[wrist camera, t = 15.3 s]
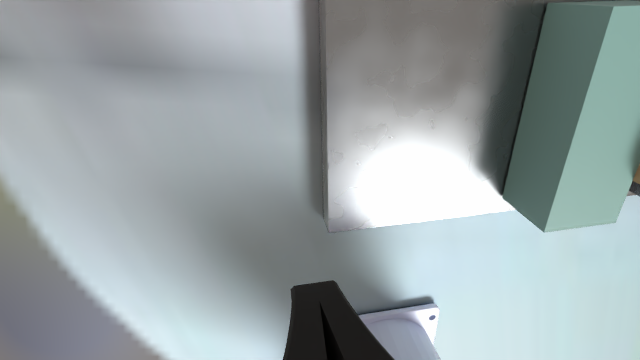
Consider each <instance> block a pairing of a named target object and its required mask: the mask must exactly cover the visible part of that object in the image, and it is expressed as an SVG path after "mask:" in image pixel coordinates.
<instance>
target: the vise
mask: <svg viewBox="0 0 640 360" xmlns="http://www.w3.org/2000/svg"><path fill="white" fill-rule="evenodd" d="M588 1H616V0H319V25H320V72H321V119H322V166H323V213H324V221H325V224H326V227H327V229H328V232H329V233H333V232H341V231H349V230H357V229H365V228H373V227H381V226H389V225H397V224H405V223H413V222H421V221H429V220H438V219H446V218H454V217H462V216H470V215H478V214H486V213H494V212H502V211H510V210H516V209H515V208H514V207H512V206H511V205H510V204H509V203H508V202H506V201H505V200H504V199H503V198H502V196H503V192H504V188H505V183H506V179H507V175H508V171H509V166H510V162H511V158H512V153H513V149H514V145H515V141H516V136H517V132H518V128H519V123H520V119H521V115H522V111H523V106H524V102H525V98H526V94H527V89H528V85H529V81H530V76H531V72H532V68H533V64H534V59H535V55H536V51H537V46H538V42H539V38H540V34H541V29H542V25H543V21H544V16H545V12H546V8H547V4H548V3H560V2H588ZM635 1H640V0H635ZM631 195H638V196H640V184H638V183H636V182H634V181H632V184H631V186H630V188H629V191H628V193H627V196H631Z"/></svg>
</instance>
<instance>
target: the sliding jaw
mask: <svg viewBox="0 0 640 360" xmlns="http://www.w3.org/2000/svg"><path fill="white" fill-rule="evenodd" d="M639 164H640V1H635V0H616V1H588V2H560V3H548V4H547V8H546V12H545V16H544V21H543V25H542V29H541V34H540V38H539V42H538V46H537V51H536V55H535V59H534V64H533V68H532V72H531V76H530V81H529V85H528V89H527V94H526V98H525V102H524V106H523V111H522V115H521V119H520V123H519V128H518V132H517V136H516V141H515V145H514V149H513V153H512V158H511V162H510V166H509V171H508V175H507V179H506V183H505V188H504V192H503V196H502V198H503V199H504V200H505V201H506V202H508V203H509V204H510V205H511V206H512V207H514V208H515V209H516V210H517V211H518V212H520V213H521V214H522V215H523V216H525V217H526V218H527V219H528V220H529V221H531V222H532V223H533V224H534V225H536V226H537V227H538V228H539V229H540V230H542V231H543V232H551V231H559V230H566V229H574V228H581V227H588V226H596V225H603V224H610V223H616V220H617V218H618V215H619V213H620V210H621V208H622V205H623V203H624V201H625V198H626V196H627V193H628V191H629V188H630V186H631V184H632V181H633V179H634V176H635V174H636V171H637V169H638V166H639Z"/></svg>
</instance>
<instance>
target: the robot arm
mask: <svg viewBox="0 0 640 360" xmlns="http://www.w3.org/2000/svg"><path fill="white" fill-rule="evenodd" d="M291 298H292V308H291V318H290V326H289V332H288V338H287V343H286V348H285V353H284V357H283V360H441V359H440V357H439V355H438V353H437V351H436V350H435V348H434V340H435V334H436V329H437V323H438V317H439V308H438V306H437V305H436V304H426V305H420V306H414V307H407V308H401V309H395V310H388V311H382V312H376V313H369V314H363V315H357V314H356V312H355V311H354V309H353V308H352V306H351V305H350V304H349V302H348V301H347V299H346V298H345V296H344V295H343V293H342V291H341V290H340V288H339V286H338V285H337V283H336V282H335V281H333V280H332V281H325V282H318V283H311V284H304V285H297V286H294V287H293V288H292V289H291Z"/></svg>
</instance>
